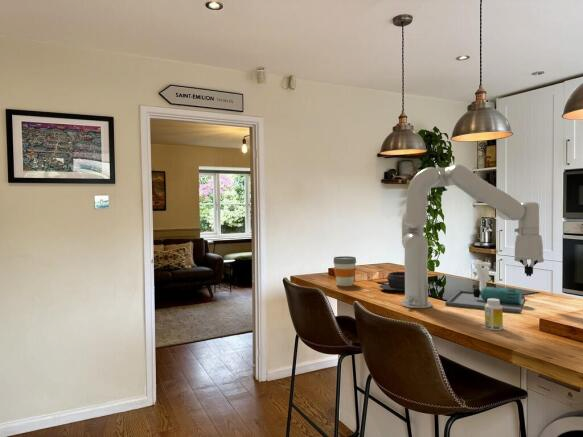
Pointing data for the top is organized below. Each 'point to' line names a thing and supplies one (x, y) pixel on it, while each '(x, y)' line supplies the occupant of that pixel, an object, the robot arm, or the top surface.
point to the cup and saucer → (395, 282)
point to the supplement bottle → (493, 314)
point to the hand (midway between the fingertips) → (528, 275)
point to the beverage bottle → (499, 294)
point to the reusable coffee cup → (344, 270)
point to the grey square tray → (479, 302)
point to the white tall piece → (482, 273)
